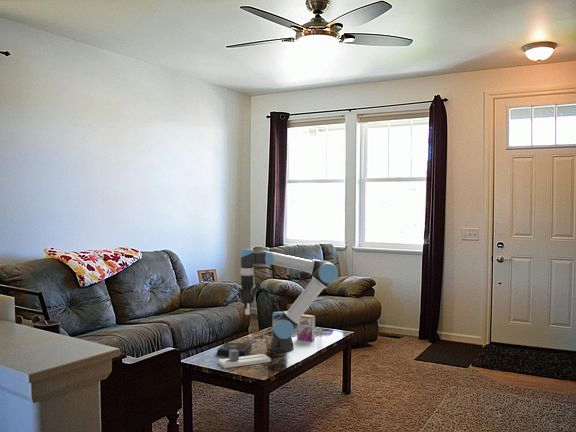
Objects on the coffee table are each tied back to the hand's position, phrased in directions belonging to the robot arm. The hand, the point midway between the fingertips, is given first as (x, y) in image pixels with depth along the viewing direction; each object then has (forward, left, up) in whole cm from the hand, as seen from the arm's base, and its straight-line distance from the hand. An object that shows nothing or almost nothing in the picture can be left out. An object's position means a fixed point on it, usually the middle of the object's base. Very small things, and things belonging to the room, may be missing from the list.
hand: (247, 314), depth 306 cm
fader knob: (+14, +13, -22) cm, 29 cm away
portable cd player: (+5, -8, -25) cm, 27 cm away
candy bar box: (-50, -17, -25) cm, 58 cm away
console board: (+7, +13, -24) cm, 29 cm away
